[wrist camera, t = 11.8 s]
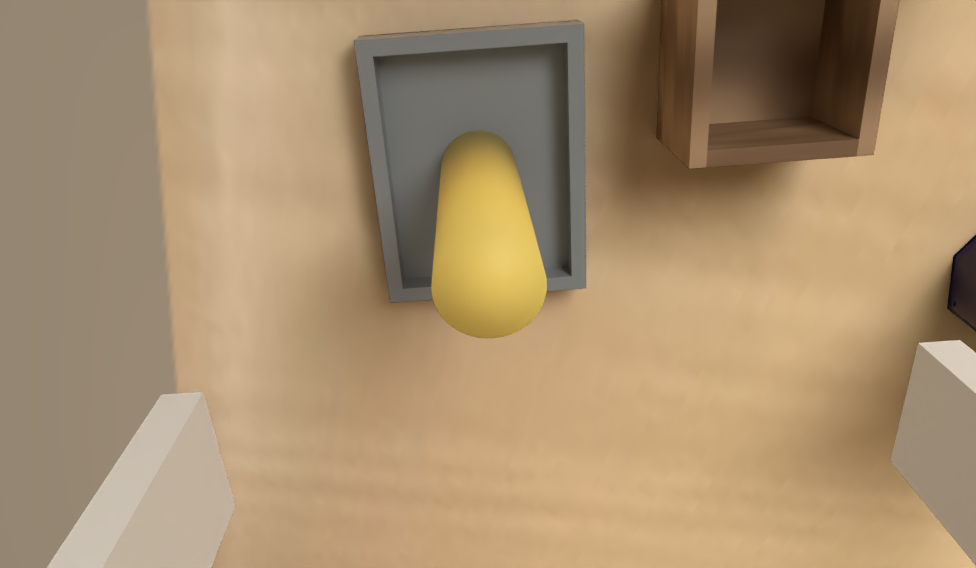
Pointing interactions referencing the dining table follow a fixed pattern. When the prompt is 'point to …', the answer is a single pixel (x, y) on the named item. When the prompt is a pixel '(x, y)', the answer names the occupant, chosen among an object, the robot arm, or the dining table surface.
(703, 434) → the dining table surface
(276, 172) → the dining table surface
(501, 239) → the dowel
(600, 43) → the dining table surface
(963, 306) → the bottle
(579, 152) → the tray
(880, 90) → the holder
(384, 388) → the dining table surface
